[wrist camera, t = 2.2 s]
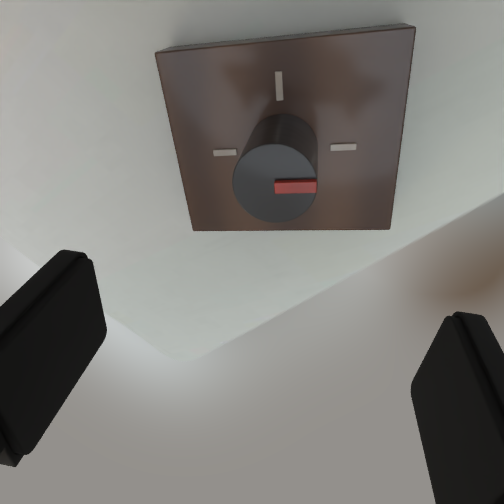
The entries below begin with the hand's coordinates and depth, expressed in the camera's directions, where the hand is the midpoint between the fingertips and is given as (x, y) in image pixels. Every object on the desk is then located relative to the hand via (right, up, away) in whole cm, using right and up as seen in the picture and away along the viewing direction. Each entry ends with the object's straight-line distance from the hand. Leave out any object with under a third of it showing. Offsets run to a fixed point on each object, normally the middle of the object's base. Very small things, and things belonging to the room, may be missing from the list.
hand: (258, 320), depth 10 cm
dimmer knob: (+2, +8, +11) cm, 14 cm away
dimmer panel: (+2, +9, +13) cm, 16 cm away
